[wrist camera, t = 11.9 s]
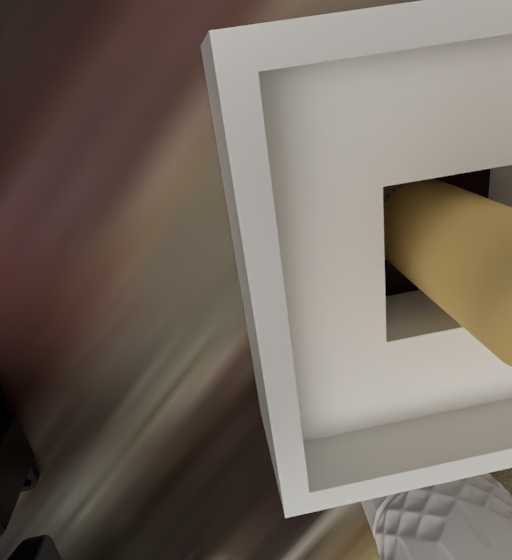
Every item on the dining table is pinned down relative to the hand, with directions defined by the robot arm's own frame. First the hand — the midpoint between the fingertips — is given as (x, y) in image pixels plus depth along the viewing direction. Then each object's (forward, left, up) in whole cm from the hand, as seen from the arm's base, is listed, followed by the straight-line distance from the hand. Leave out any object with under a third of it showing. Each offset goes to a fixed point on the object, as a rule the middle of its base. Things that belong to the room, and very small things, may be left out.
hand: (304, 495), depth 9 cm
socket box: (+8, 0, -12) cm, 14 cm away
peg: (+8, 0, -12) cm, 14 cm away
